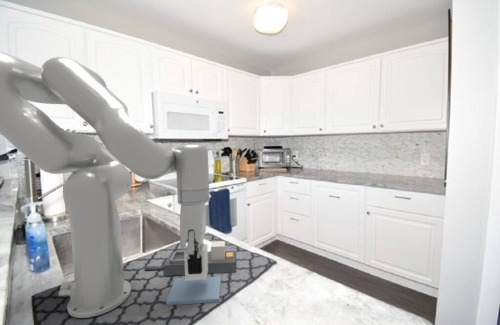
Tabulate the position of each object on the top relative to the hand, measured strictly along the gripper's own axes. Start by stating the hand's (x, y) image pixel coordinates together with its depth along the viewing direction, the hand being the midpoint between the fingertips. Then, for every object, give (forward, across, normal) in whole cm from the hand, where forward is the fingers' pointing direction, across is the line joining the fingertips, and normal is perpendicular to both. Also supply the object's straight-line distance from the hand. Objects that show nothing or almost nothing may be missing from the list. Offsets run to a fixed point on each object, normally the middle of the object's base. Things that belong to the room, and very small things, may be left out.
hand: (196, 267), depth 56 cm
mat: (+6, 0, 0) cm, 6 cm away
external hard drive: (+7, -25, -2) cm, 26 cm away
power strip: (+6, -11, -4) cm, 13 cm away
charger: (+2, 0, 0) cm, 2 cm away
